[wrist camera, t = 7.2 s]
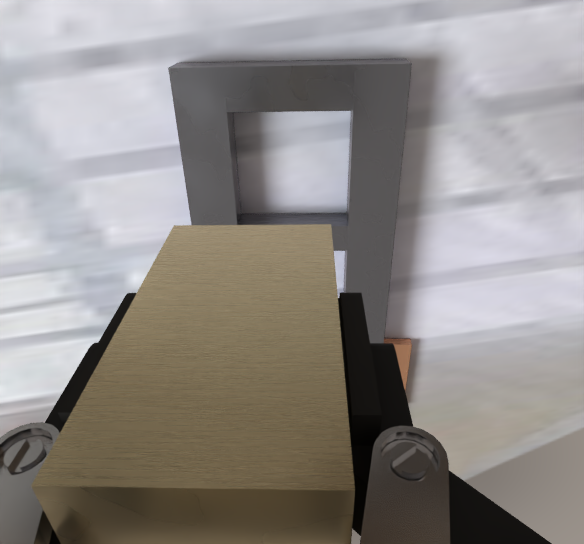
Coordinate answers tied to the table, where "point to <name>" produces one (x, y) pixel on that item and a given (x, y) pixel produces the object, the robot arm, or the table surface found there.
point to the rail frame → (362, 155)
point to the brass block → (214, 402)
